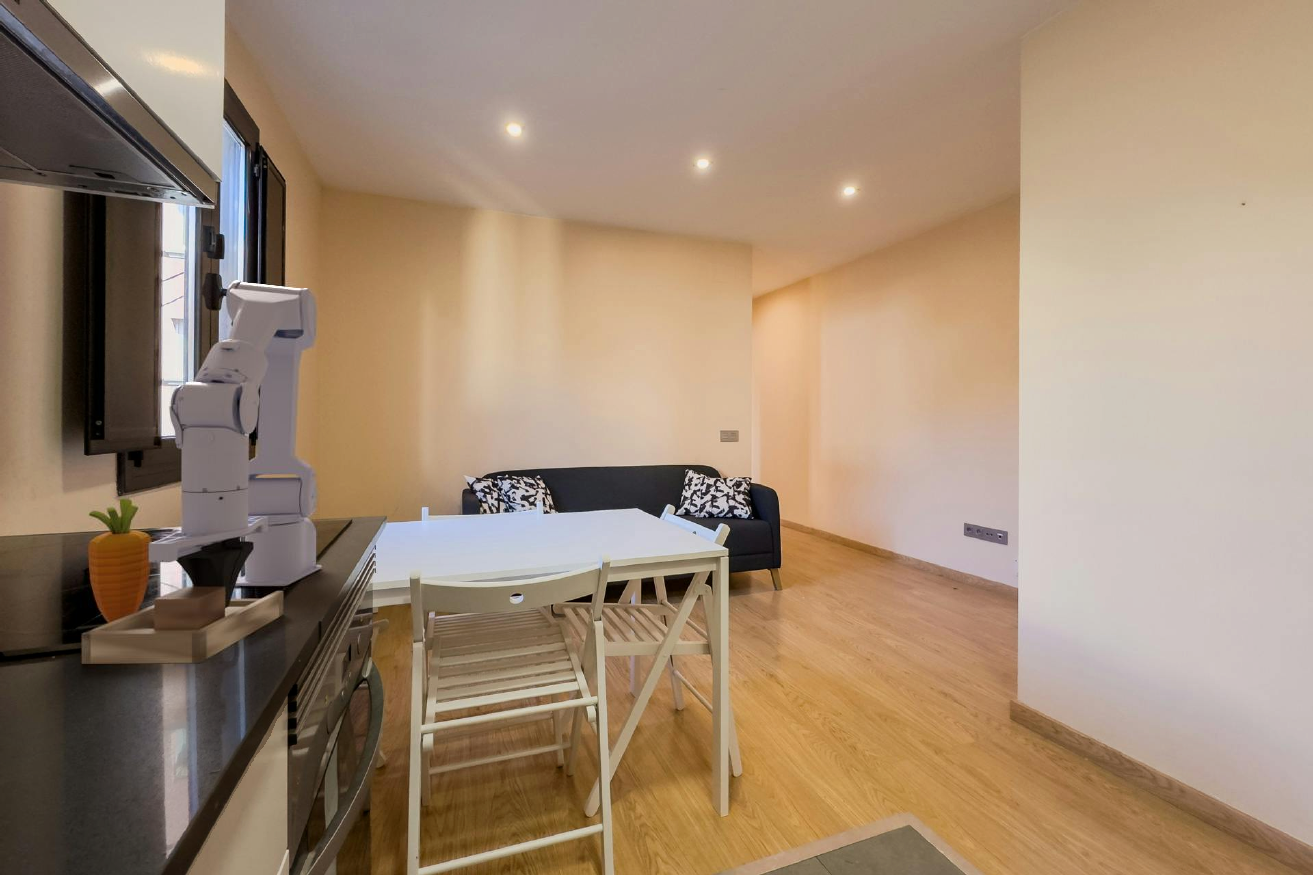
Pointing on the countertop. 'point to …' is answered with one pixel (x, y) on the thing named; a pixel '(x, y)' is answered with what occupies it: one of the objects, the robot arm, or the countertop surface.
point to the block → (189, 608)
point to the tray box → (176, 635)
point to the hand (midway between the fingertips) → (215, 608)
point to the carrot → (119, 563)
